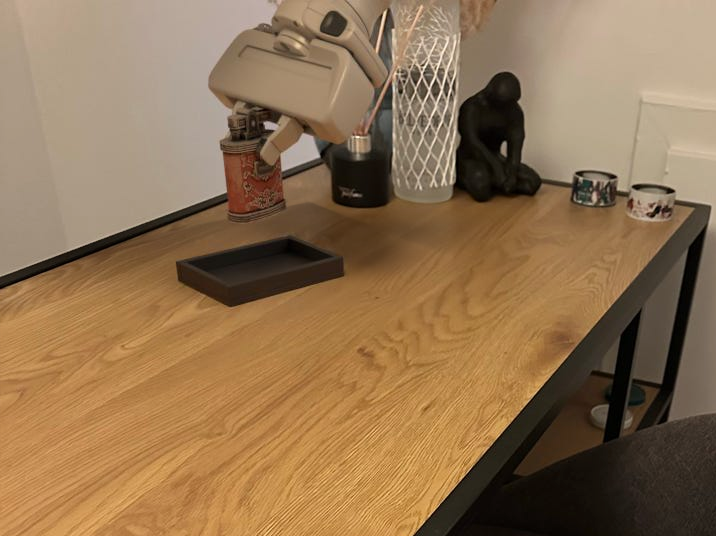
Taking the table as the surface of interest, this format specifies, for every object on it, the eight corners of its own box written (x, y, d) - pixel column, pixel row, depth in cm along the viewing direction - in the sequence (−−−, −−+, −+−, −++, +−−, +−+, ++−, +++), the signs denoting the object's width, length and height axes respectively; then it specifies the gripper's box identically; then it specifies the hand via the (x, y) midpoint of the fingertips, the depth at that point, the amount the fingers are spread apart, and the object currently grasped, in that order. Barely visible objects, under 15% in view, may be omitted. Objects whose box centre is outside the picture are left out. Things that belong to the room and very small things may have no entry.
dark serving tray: (177, 280, 103) (175, 261, 101) (291, 252, 112) (290, 234, 110) (230, 307, 98) (228, 286, 96) (344, 275, 107) (343, 257, 106)
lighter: (246, 226, 97) (235, 117, 91) (220, 219, 98) (208, 112, 92) (293, 208, 103) (286, 105, 96) (268, 202, 104) (260, 100, 97)
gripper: (235, -3, 98) (167, 112, 99) (366, 27, 88) (290, 155, 89) (273, 44, 103) (209, 153, 104) (400, 78, 93) (328, 198, 94)
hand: (247, 154), depth 96 cm, fingers closed on lighter, 4 cm apart
